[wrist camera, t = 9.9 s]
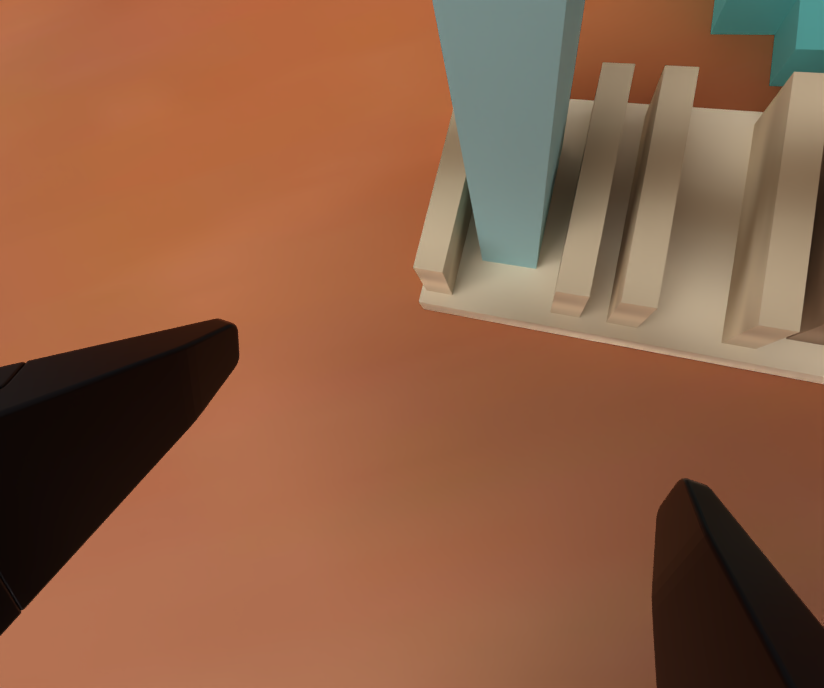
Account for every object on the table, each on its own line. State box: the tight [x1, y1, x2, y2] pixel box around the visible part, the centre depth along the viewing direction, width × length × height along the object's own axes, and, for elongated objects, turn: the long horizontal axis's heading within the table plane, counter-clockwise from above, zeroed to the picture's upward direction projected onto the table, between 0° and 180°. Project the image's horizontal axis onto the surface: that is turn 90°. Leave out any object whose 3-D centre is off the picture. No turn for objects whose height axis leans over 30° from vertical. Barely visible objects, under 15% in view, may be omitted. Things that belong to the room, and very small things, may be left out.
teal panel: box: [432, 0, 585, 269], centre depth 12 cm, size 5×2×12 cm, turn 166°
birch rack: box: [413, 62, 824, 384], centre depth 16 cm, size 9×18×4 cm, turn 76°
